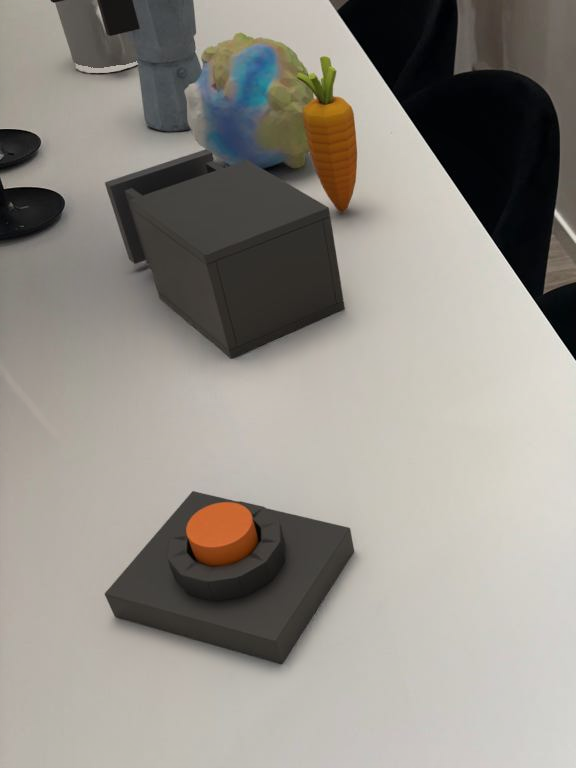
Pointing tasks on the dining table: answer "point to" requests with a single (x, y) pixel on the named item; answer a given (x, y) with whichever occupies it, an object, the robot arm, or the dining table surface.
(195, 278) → the dark grey panelled cube
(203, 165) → the dark grey drawer
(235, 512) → the button
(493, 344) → the dining table surface
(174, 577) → the control pad
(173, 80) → the moka pot
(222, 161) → the decorative rock
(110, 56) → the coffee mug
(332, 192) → the carrot
